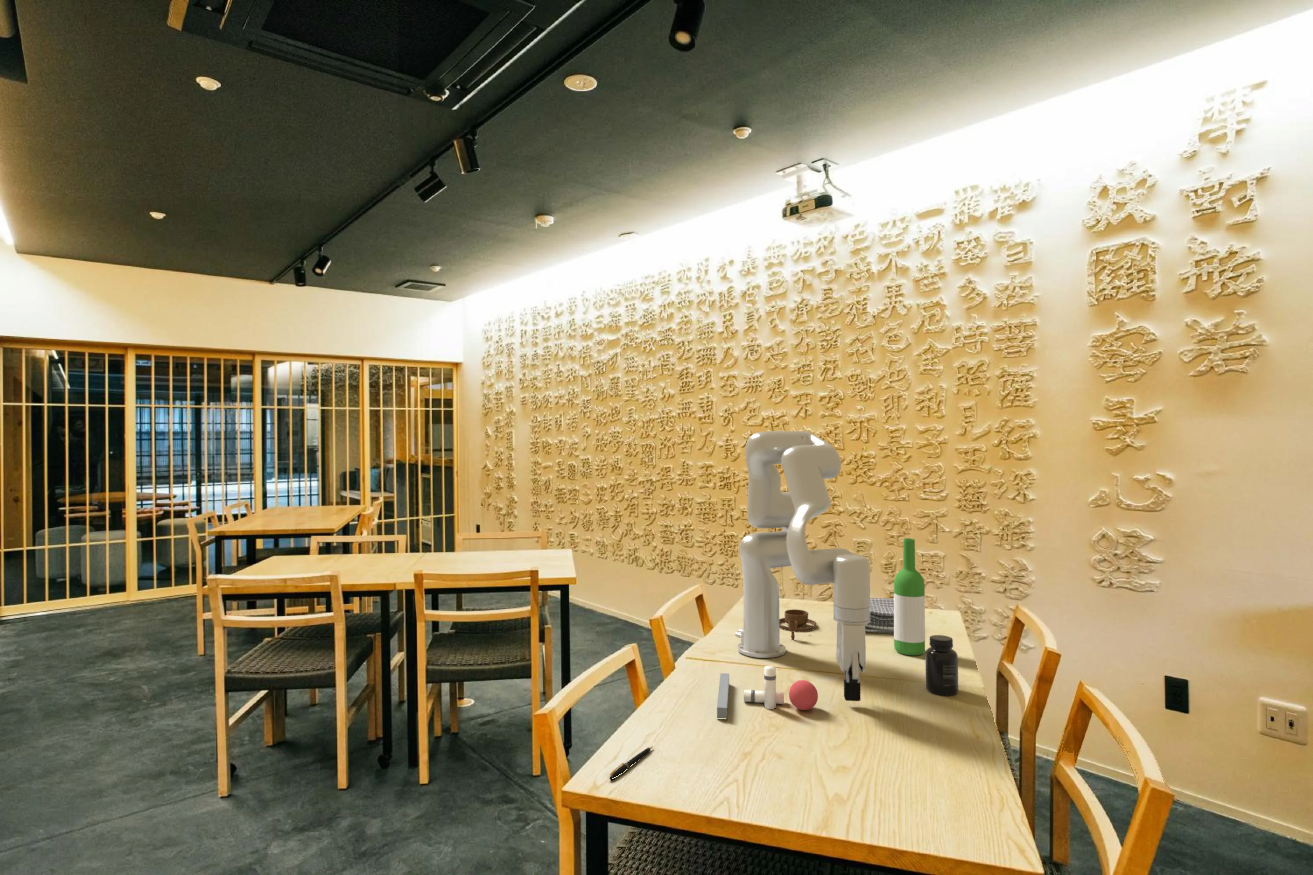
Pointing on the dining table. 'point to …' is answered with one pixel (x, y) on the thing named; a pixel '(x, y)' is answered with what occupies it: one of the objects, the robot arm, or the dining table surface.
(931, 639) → the supplement bottle
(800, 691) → the ball
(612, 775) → the fountain pen
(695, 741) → the dining table surface
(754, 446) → the robot arm
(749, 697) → the pin
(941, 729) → the dining table surface
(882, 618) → the towel
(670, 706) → the dining table surface
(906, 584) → the wine bottle
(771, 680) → the pin
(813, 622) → the place setting
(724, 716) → the gray square bar
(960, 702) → the dining table surface
